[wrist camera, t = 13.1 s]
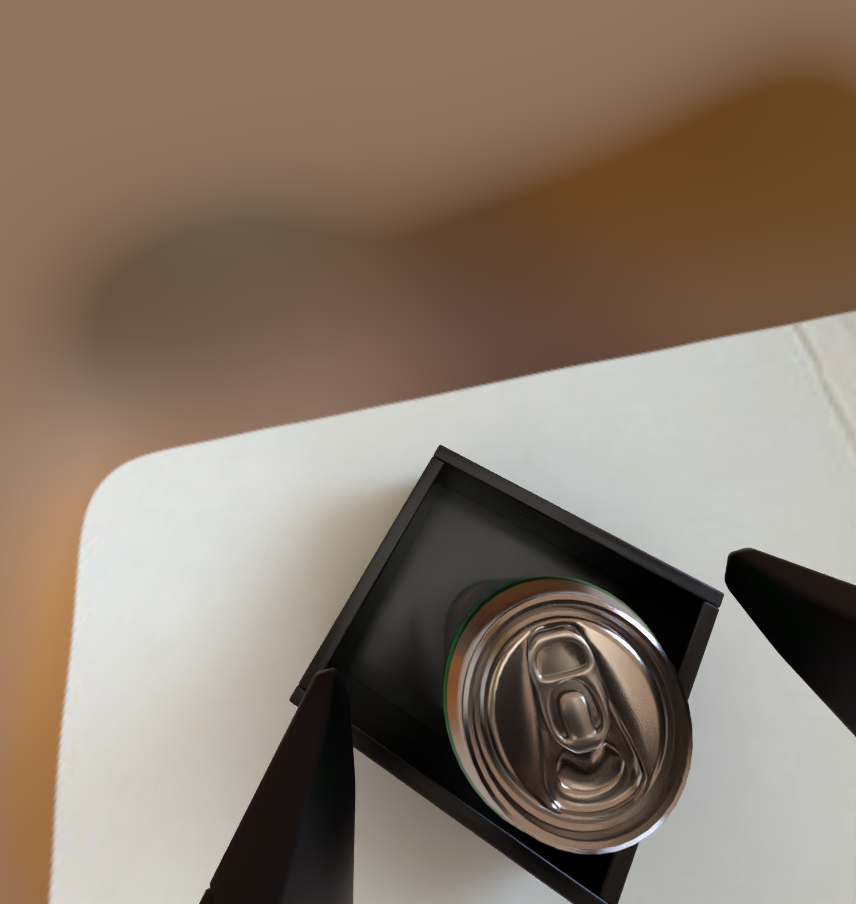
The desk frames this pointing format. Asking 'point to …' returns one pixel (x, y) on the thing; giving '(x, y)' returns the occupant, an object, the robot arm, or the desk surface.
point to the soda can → (564, 712)
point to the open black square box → (423, 625)
